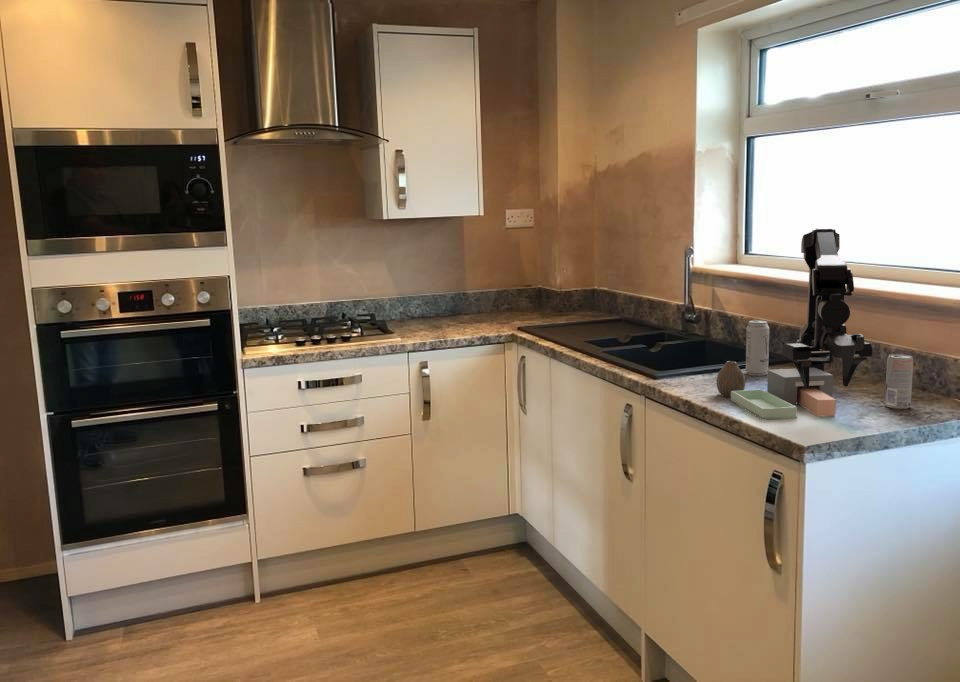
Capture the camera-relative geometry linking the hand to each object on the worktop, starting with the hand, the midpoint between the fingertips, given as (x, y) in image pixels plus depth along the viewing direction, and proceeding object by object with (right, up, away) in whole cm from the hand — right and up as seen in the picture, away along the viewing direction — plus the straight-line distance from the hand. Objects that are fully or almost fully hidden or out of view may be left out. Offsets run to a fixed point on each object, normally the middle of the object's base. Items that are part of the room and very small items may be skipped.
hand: (826, 387), depth 183 cm
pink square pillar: (0, -6, +6) cm, 8 cm away
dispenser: (-1, -4, +13) cm, 14 cm away
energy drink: (+19, -5, +5) cm, 20 cm away
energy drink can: (-1, +1, +44) cm, 44 cm away
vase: (-16, -4, +20) cm, 26 cm away
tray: (-12, -6, +6) cm, 15 cm away
